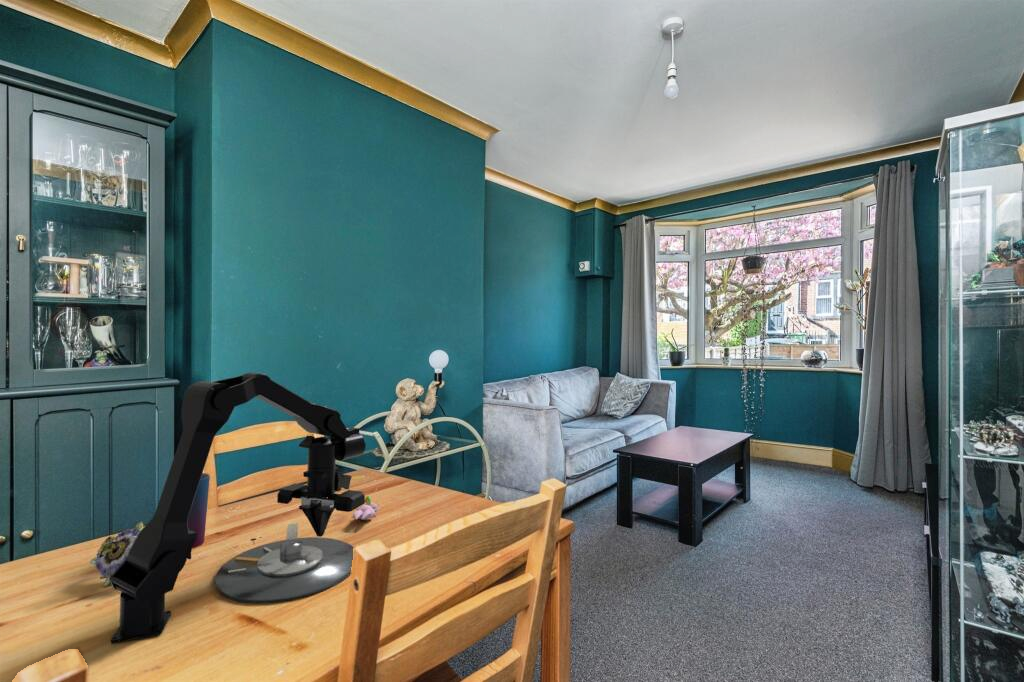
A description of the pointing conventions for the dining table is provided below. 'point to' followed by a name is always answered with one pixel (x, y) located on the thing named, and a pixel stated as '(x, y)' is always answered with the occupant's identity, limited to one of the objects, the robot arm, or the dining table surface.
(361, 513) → the purple flower
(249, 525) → the dining table surface
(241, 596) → the dial plate
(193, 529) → the cup
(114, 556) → the passion flower
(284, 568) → the dial
